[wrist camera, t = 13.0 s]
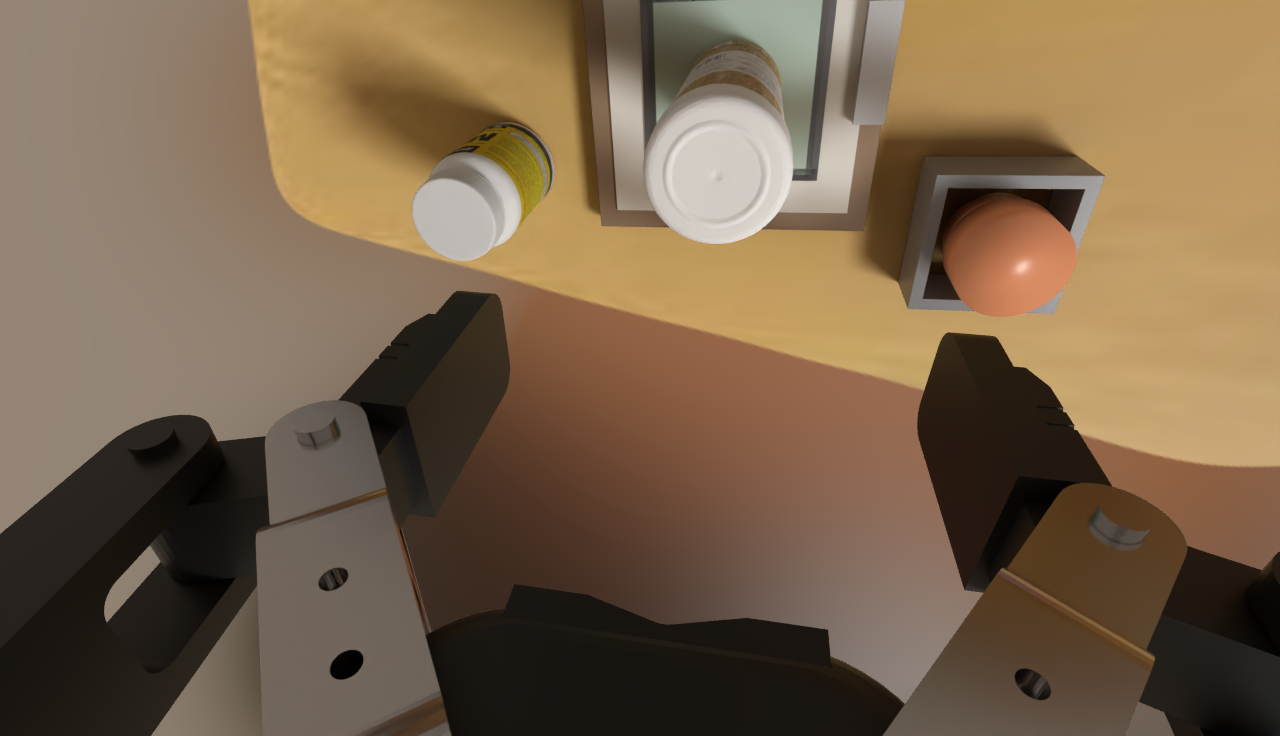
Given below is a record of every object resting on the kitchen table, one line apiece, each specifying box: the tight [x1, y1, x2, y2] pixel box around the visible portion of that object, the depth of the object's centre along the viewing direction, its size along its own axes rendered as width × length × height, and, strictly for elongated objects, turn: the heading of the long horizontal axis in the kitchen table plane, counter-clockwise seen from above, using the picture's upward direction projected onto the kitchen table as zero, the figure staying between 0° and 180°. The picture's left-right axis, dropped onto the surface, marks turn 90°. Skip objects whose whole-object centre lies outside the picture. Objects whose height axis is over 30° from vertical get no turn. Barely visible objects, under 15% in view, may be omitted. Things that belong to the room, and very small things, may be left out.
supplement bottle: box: [412, 122, 554, 261], centre depth 32 cm, size 5×5×8 cm
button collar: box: [898, 156, 1105, 314], centre depth 32 cm, size 7×7×3 cm
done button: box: [942, 193, 1077, 317], centre depth 30 cm, size 5×5×4 cm
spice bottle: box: [643, 40, 793, 244], centre depth 24 cm, size 5×5×13 cm
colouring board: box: [583, 0, 905, 231], centre depth 30 cm, size 16×14×2 cm
